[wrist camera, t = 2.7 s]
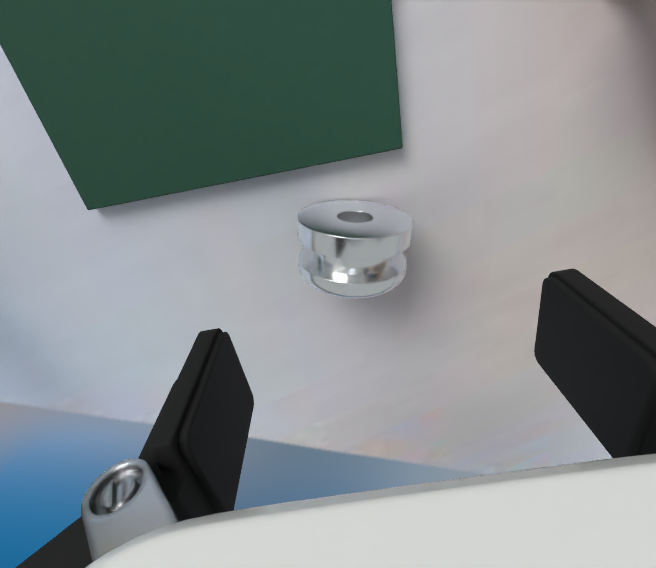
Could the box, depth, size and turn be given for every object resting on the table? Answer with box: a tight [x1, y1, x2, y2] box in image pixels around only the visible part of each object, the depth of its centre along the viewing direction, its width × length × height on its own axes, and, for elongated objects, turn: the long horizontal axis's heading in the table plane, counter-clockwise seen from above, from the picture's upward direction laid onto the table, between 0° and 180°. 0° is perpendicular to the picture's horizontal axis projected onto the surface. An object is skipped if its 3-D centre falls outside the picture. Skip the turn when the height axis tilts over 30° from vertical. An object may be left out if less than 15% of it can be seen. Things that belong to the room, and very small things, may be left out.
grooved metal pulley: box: [297, 200, 413, 298], centre depth 17 cm, size 5×3×5 cm, turn 88°
